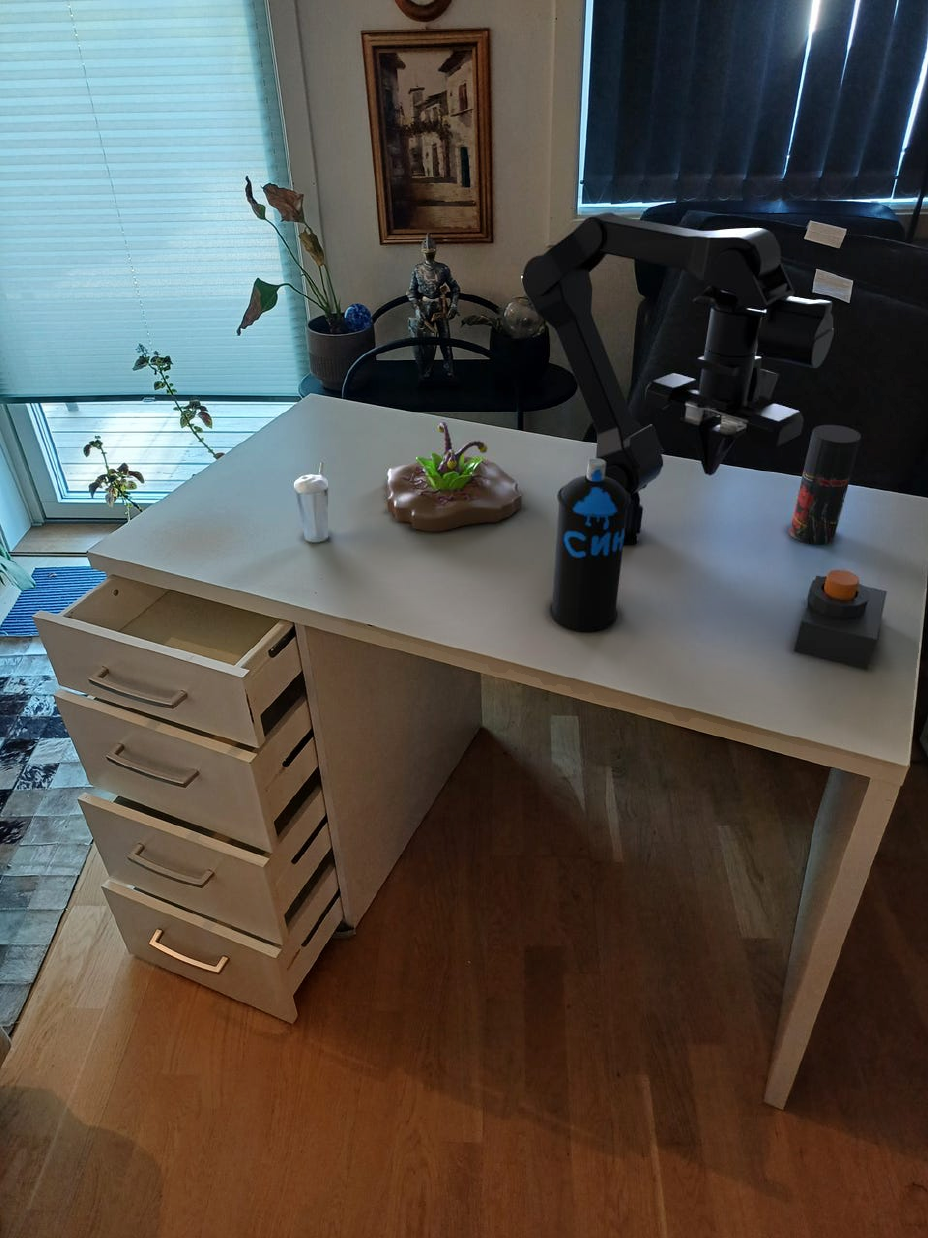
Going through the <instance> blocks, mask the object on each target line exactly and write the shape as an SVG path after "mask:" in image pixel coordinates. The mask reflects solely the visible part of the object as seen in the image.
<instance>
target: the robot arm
mask: <svg viewBox="0 0 928 1238" xmlns="http://www.w3.org/2000/svg"><path fill="white" fill-rule="evenodd" d="M781 254H782V252H781V247H780V244H779V242H778V240H777V238H776V235H775V234H774V233H773V232H771V231H770V230H767V229H765V228H759V227H756V228H755V227H751V228H750V227H749V228H729V229H719V230H697V229H692V228H684V227H680V226H675V225H669V224H664V223H659V222H653V221H649V220H647V221H646V220H641V219H637V218H631V217H625V216H619V215H617V214H615V213H614V212H610V211H609V212H602V213H599V214H596V215H591V216H589V217H587V218H585V219H584V220H583V221H582V222H581V223H580V224H579V225H578V226H577V227H576V228H575V229H574V230H573V231H572V232H571V233H569V234H568V235H566V236H565V237H564V238H562V239H561V240H560V241H558V242H557V243H556V244H555V245H553V246H552V247H550V248H549V249H548V250H546V252H545V253H542V254H539V255H536V256H533V257H531V258H530V259H529V260H527V262H526V265H525V266H524V269H523V273H522V275H521V284H522V287H523V288H522V289H523V291H524V293H525V295H526V296H527V299H528V300H529V302H530V303H531V305H532V307H533V308H534V310H535V312H536V313H537V314H538V315H539V316H540V317H541V318H542V319H543V320H544V321H545V322H547V324H548V325H550V326H551V327H552V328H553V329H554V330H555V333H556V335H557V337H558V340H559V341H560V344H561V347H562V349H563V352H564V354H565V357H566V359H567V362H568V364H569V367H570V369H571V371H572V374H573V376H574V379H575V382H576V384H577V386H578V389H579V391H580V394H581V396H582V399H583V401H584V403H585V407H586V408H587V411H588V414H589V416H590V419H591V421H592V423H593V426H594V428H595V432H596V453H595V458H598V459H602V460H604V461H605V462H606V468H605V477H608V478H610V479H613V480H615V481H616V482H618V483H619V484H620V485H621V486H622V487H623V488H624V490H626V491H627V492H628V494H629V495H630V498H631V503H630V505H629V506H628V508H627V516H626V525H625V534H624V542H623V545H637V544H639V537H638V535H640V534H641V529H642V521H643V512H644V506H643V504H642V500H641V497H640V494H639V492H640V491H641V490H643V489H645V488H647V486H648V484H649V483H651V482H652V481H654V480H655V479H657V478H658V476H660V474H661V472H662V469H663V467H664V460H663V459H664V458H663V454H664V453H665V452H666V450H665V449H664V448H663V447H662V445H661V444H660V442H659V440H658V436H657V431H656V428H655V426H654V425H653V424H648V425H647V426H645V427H643V426H642V425H641V424H640V423H639V422H638V421H637V420H635V419H634V417H633V415H632V413H631V411H630V408H629V405H628V403H627V401H626V398H625V396H624V393H623V390H622V388H621V385H620V383H619V380H618V378H617V375H616V372H615V371H614V368H613V365H612V363H611V359H610V358H609V355H608V353H607V349H606V347H605V345H604V342H603V340H602V337H601V334H600V332H599V330H598V326H597V325H596V321H595V320H594V317H593V313H592V304H593V303H592V302H593V284H592V279H591V276H590V273H591V272H592V271H593V270H594V269H595V268H597V266H599V265H600V264H601V263H602V261H603V260H604V258H605V257H606V256H607V255H609V256H610V255H611V256H614V257H615V256H616V257H620V258H625V259H630V260H635V261H640V262H644V263H648V264H655V265H659V266H664V267H668V268H672V269H673V268H674V269H676V270H677V269H678V270H682V271H685V272H687V273H689V274H691V275H692V276H693V277H695V278H696V279H698V280H699V281H700V282H701V283H703V284H705V285H709V286H708V287H707V288H706V289H705V290H704V291H703V292H702V293H701V294H699V295H697V296H696V297H694V299H693V304H694V305H696V306H702V307H706V308H710V314H709V321H708V328H707V335H706V341H705V347H704V352H703V355H702V356H700V357H697V358H696V365H695V367H696V368H699V369H701V373H700V378H699V379H700V380H699V383H698V381H697V380H696V379H695V378H692V377H688V376H684V375H682V374H679V373H675V372H672V373H670V374H667V375H664V376H661V377H658V378H656V379H653V380H652V381H650V382H649V383H648V385H647V386H646V388H645V391H644V399H643V400H644V401H643V403H644V405H646V406H649V407H651V408H655V409H658V410H661V411H662V410H665V409H666V408H668V407H669V406H670V405H671V403H672V401H673V402H677V403H680V404H683V405H684V406H685V412H684V413H685V415H684V416H682V417H680V423H681V424H683V425H685V426H686V429H687V431H688V433H689V435H690V437H691V440H692V442H693V444H694V447H695V449H696V452H697V455H698V457H699V461H700V464H701V466H702V469H703V470H702V471H703V473H704V474H705V475H708V476H712V475H714V474H715V473H716V472H717V471H718V468H719V467H720V466H721V464H722V462H723V461H724V460H725V459H724V458H725V457H726V455H727V454H728V452H729V450H730V448H731V447H732V445H733V444H734V443H735V441H736V440H737V438H739V436H742V435H743V434H746V435H747V437H748V439H749V440H750V441H751V442H755V443H758V444H761V445H765V446H767V447H775V448H776V447H779V446H781V445H783V444H785V443H786V442H789V441H791V440H793V439H795V438H798V437H799V436H801V434H802V431H803V427H804V421H805V420H804V418H803V416H802V413H801V411H799V410H796V409H793V408H789V407H786V406H783V405H781V404H777V403H772V404H769V405H767V406H765V407H763V408H760V409H759V408H757V407H753V406H750V405H748V403H752V404H753V403H756V402H757V401H759V398H760V397H761V398H762V399H763V398H764V399H765V400H771V397H772V394H773V392H774V390H775V387H776V384H777V382H778V377H779V376H780V374H779V373H777V372H772V371H769V370H766V369H763V368H762V369H761V367H762V357H761V356H758V355H757V351H758V353H762V355H763V356H764V358H766V359H770V360H775V361H779V362H783V363H789V364H795V365H798V366H802V367H807V368H811V369H812V368H813V369H818V368H819V367H820V366H821V364H823V362H824V360H825V358H826V356H827V355H828V352H829V349H830V347H831V344H832V341H833V338H834V332H835V329H834V316H833V314H832V313H831V312H832V308H833V302H832V301H830V300H824V299H815V300H814V299H808V298H801V297H797V296H796V297H795V296H794V294H795V290H794V287H793V285H792V283H791V281H790V278H789V276H788V274H787V272H786V270H785V267H784V266H783V265H784V264H783V263H782V261H781ZM760 284H762V285H764V286H765V287H764V288H762V289H761V287H760Z"/></svg>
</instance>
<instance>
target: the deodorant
mask: <svg viewBox="0 0 928 1238" xmlns="http://www.w3.org/2000/svg"><path fill="white" fill-rule="evenodd" d="M811 432H812V433H811V437H810V441H809V445H808V446H809V447H808V450H807V454H806V459H805V463H804V467H803V472H802V476H801V480H800V484H799V488H798V493H797V498H796V502H795V506H794V509H793V510H794V511H793V515H792V519H791V522H790V523H791V524H790V527H789V534H790V536H791V537H792V538H793V539H795V540H796V541H798V542H801V543H803V544H807V545H812V546H824V545H829V544H830V543H832V542H833V541H834V540H835V536H836V534H837V529H838V526H839V521H840V517H841V514H842V510H843V506H844V502H845V499H846V495H847V491H848V487H849V484H850V480H851V476H852V472H853V469H854V466H855V462H856V457H857V454H858V450H859V447H860V443H861V438H862V436H861V434H860V432H858V431H857V430H855V429H853V428H851V427H847V426H842V425H837V424H822V425H817V426H815V427H813V429H812V431H811Z"/></svg>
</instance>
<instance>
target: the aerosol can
mask: <svg viewBox="0 0 928 1238" xmlns="http://www.w3.org/2000/svg"><path fill="white" fill-rule="evenodd" d="M605 468H606V462H605V461H604V460H602V459H598V458H596V457H595V458H594V457H593V458H591V459H589V460H587V469H586V474H585V475H581V476H577V477H574V478H572V479H571V480H570V481H569V482H568V483H566V484H565V485H564V486H562V487H560V488H559V490H558V491H557V494H556V499H557V501H558V509H557V525H556V541H555V554H554V569H553V572H554V573H553V584H552V585H553V586H552V597H551V604H550V606H549V615H550V617H551V619H552V620H553V621H554V622H555V623H556V624H558V625H559V626H561V627H563V628H565V629H567V630H571V631H574V632H580V633H591V632H592V633H593V632H598V631H602V630H605V629H607V628H609V627H611V626H612V625H613V624H614V623H615V622H616V620H617V618H618V609H617V602H618V593H619V585H620V576H621V568H622V561H623V558H622V557H623V551H624V544H623V542H624V534H625V525H626V516H627V508H628V506H629V505H630V503H631V498H630V495H629V494H628V492H627V491H626V490H624V488H623V487H622V486H621V485H620V484H619V483H618V482H616V481H615V480H613V479H610V478H608V477H605Z"/></svg>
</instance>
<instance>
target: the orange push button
mask: <svg viewBox="0 0 928 1238" xmlns="http://www.w3.org/2000/svg"><path fill="white" fill-rule="evenodd" d="M826 576H827V579H826V582H825V586H824V593H825V594H826V595H828V596H830V597H832V598H835V599H840V600H852V599H853V598H854V597H855V594H856V590H857V587H858V584H860V578H859V577H858V576H857V575H856V574H855V573H853V572H851V571H848V570H845V569H833V570H830V571H829V572H827V575H826Z"/></svg>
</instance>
